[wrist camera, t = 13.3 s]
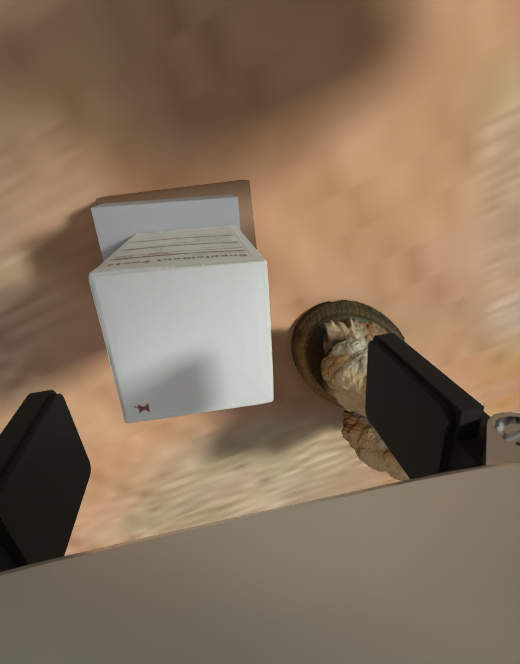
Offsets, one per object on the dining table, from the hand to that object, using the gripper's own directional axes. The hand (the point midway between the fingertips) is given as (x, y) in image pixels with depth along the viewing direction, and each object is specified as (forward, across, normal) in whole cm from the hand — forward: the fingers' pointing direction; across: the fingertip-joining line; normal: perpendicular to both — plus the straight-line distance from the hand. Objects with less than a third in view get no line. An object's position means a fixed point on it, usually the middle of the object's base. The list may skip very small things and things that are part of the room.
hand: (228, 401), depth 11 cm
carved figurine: (+26, -16, +16) cm, 34 cm away
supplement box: (+18, +1, +1) cm, 18 cm away
